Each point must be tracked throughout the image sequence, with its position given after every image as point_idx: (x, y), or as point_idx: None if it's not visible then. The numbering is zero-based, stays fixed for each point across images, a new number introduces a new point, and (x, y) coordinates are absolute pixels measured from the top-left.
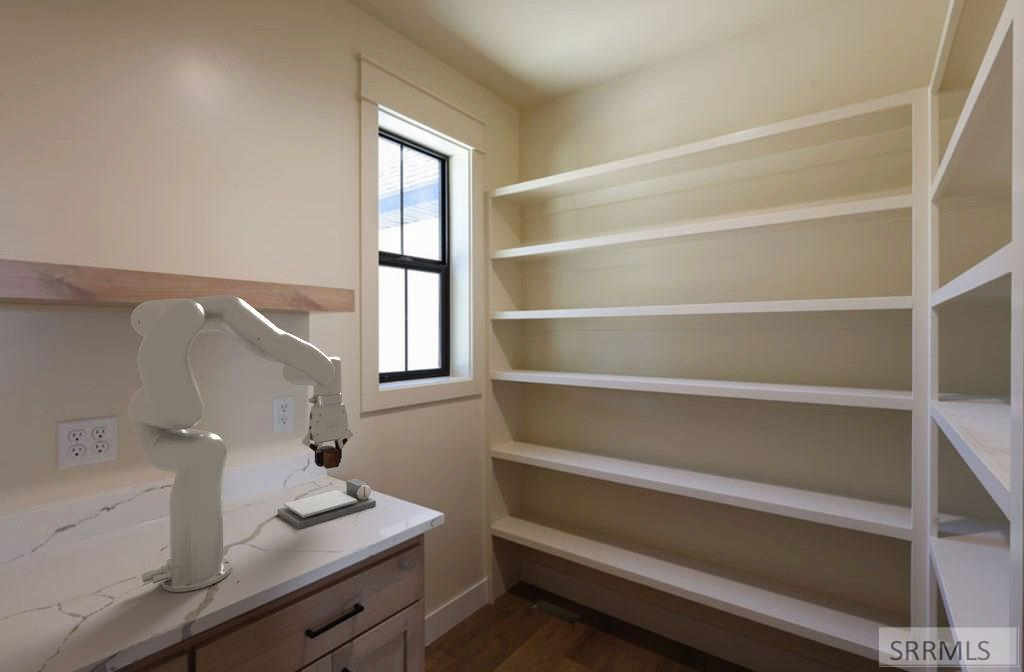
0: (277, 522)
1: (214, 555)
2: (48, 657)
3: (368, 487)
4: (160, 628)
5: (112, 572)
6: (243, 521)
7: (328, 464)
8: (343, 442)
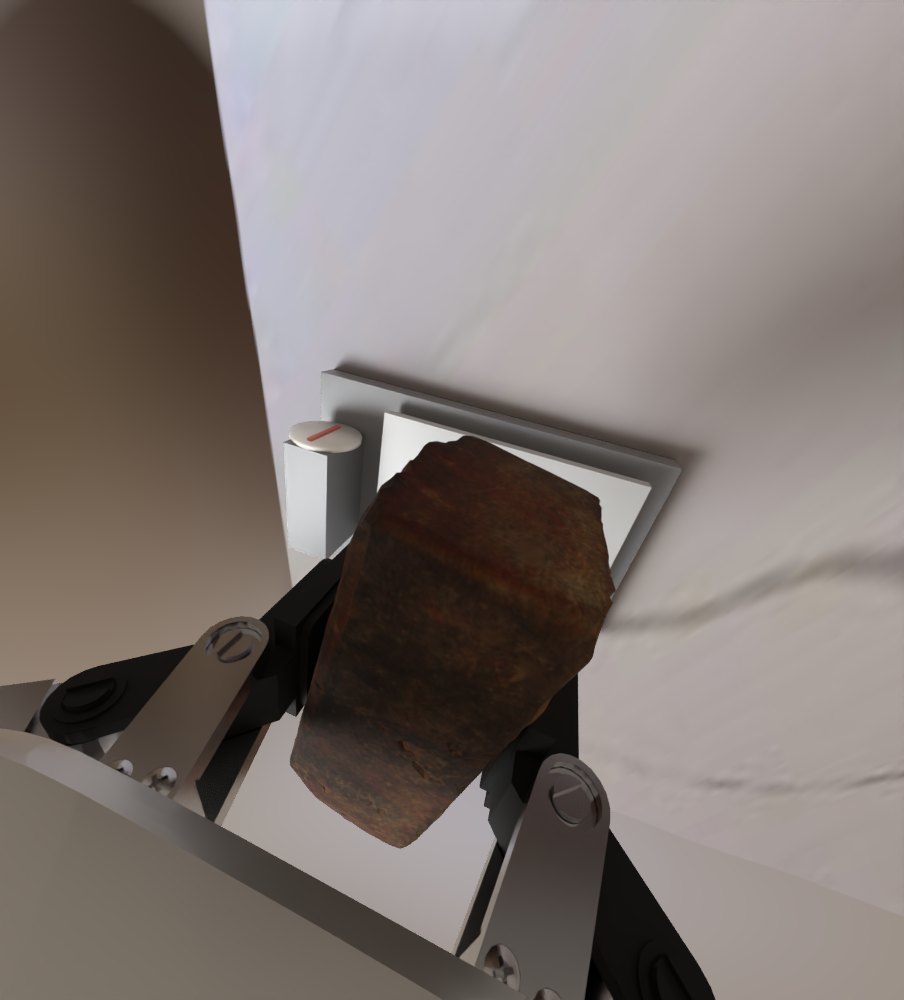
0: (648, 584)
1: None
2: None
3: (296, 432)
4: None
5: None
6: (685, 685)
7: (580, 503)
8: (151, 685)
